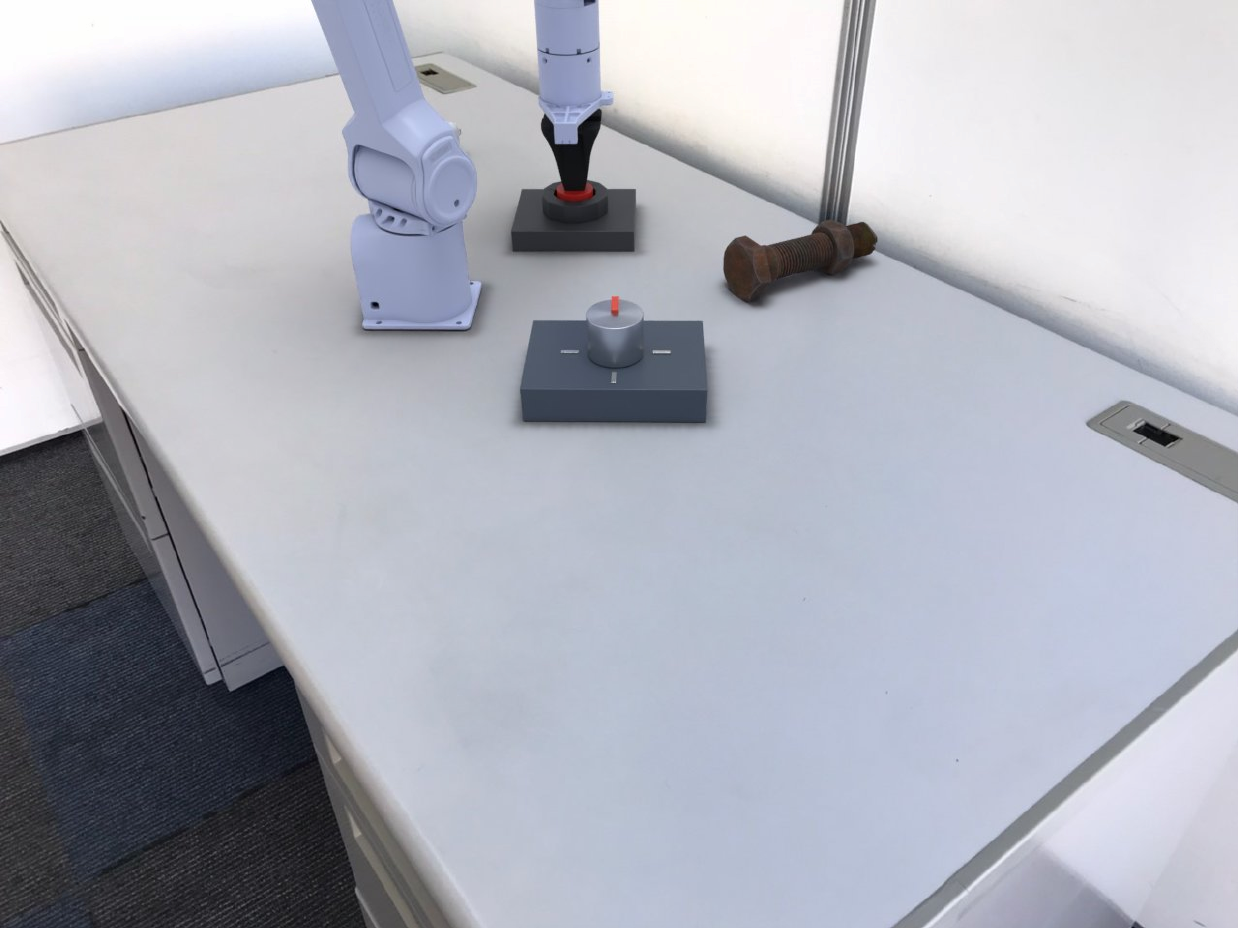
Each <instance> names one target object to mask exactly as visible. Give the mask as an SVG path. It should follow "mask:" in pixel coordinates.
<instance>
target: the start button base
mask: <svg viewBox="0 0 1238 928" xmlns="http://www.w3.org/2000/svg"><path fill="white" fill-rule="evenodd" d="M587 183H589V184H591V185H592V187H593V197H591V198H590V199H587V200H582V201H565V200H561V199H558V198H557V187H558V186H559V185H560V184H562V182H561V180H560V181H559V180H558V181H556V182H552V183H550V184H549V185H547V186H545V187H544V188H522V189H521V191H520V196H519V199H518V203H517V207H516V211H515V215H514V219H513V222H512V227H511V230H510V235H511V236H510V237H511V247H512V252H516V253H517V252H519V253H520V252H524V253H525V252H530V253H531V252H535V253H537V252H538V253H539V252H547V253H548V252H552V253H553V252H560V253H561V252H563V253H564V252H565V253H566V252H568V253H569V252H571V253H572V252H573V253H574V252H581V253H582V252H584V253H585V252H587V253H588V252H589V253H590V252H593V253H594V252H597V253H598V252H599V253H601V252H602V253H603V252H604V253H605V252H608V253H609V252H610V253H611V252H612V253H613V252H614V253H615V252H616V253H617V252H618V253H619V252H620V253H621V252H622V253H623V252H625V253H626V252H629V253H632V252H635V247H636V246H635V243H636V242H635V241H636V219H637V189H636V188H607V187H606V186H605V185H604V184H602V183H600V182H598V181H595V180H590V179H587Z"/></svg>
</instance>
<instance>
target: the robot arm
mask: <svg viewBox="0 0 1238 928" xmlns="http://www.w3.org/2000/svg"><path fill="white" fill-rule="evenodd" d="M310 1H311V4H312V6H313V9H314V12H315V14H316V17H317V19H318V22H319V25H320V27H321V30H322V32H323V35H324V37H325V41H326V43H327V46H328V47H329V50H330V53H331V55H332V58H333V60H334V63H335V66H336V68H337V71H338V74H339V77H340V79H341V81H342V84H343V86H344V89H345V92H346V94H347V97H348V100H349V102H350V104H351V108H352V110H353V114H352V115H351V117H350V118H349V119H348V121H347V122H346V123H345V125H344V126H343V127H342V129H341V134H342V138H343V139H344V143H345V145H346V150H347V174H348V178H349V182H350V184H351V186H352V187H353V189H354V191H355V192H356V193H357V194H358V195H359V196H360V197H362V198H363V199H366V200H367V203H368V207H369V208H368V209H369V213H363V214H362V213H361V214H358V215H356V216H355V218H354V219H353V222H352V226H351V230H350V256H351V263H352V268H353V272H354V273H353V274H354V276H355V278H354V279H355V283H356V288H357V293H358V298H359V302H360V303H359V304H360V308H361V313H362V317H363V321H362V323H361V326H362V328H363V329H364V330H469V329H470V328H471V327H472V323H473V320H474V317H475V312H476V309H477V305H478V301H479V298H480V296H481V295H480V294H481V291H482V288H483V287H482V286H483V285H482V282H481V281H479V280H470V272H469V271H470V270H469V264H468V256H467V255H468V254H467V247H466V246H467V245H466V239H465V230H464V224H463V223H464V220H466V219H467V218H468V213H469V212H470V210H471V208H472V206H473V204H474V201H475V198H476V195H477V190H478V174H477V173H478V172H477V168H476V165H475V163H474V161H473V159H472V158H471V156H470V155H469V154H467V152H465V150H463V148H462V147H461V144H460V145H459V144H458V141H457V139H456V136H455V132H454V129H453V128H452V127H451V126H450V125H449V124H448V122H449V121H447V120H446V119H445V118H444V116H442V114H440V113H439V112H438V111H437V110H436V109H435V108H434V107H433V106H432V105H431V104H430V102H428V100H427V99H426V98H425V96H424V93H423V89H422V86H421V83H420V80H419V77H418V73H417V71H416V67H415V65H414V61H413V58H412V55H411V52H410V48H409V47H408V44H407V43H408V42H407V40H406V37H405V34H404V31H403V28H402V24H401V22H400V21H401V20H400V19H399V16H398V13H397V10H396V5H395V4H394V0H310ZM599 2H600V1H599V0H533V7H534V20H535V21H534V22H535V36H536V52H537V54H536V55H537V67H538V82H539V84H538V85H539V93H538V95H537V100H538V102H537V103H538V107H539V108H540V109H541V111H542V112H543V117H542V118H541V122H540V131H541V133H542V135H543V137H544V138H545V140H546V141H547V143H548V145H549V147H550V149H551V151H552V154H553V157H554V160H555V162H556V167H557V171H558V175H559V179H560V181H561V182H562V185H563V188H564V190H565V191H584V190H585V188H586V184H587V180H588V177H589V171H590V161H591V154H592V150H593V147H594V144H595V141H596V139H597V138H598V135H599V132H600V130H601V125H602V119H603V110H602V109H601V107H602V106H612V105H613V104H614V92H613V91H610V90H602V83H601V82H602V81H601V80H602V79H601V78H602V77H601V46H600V45H601V40H600V39H601V37H600V36H601V35H600V3H599Z"/></svg>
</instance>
